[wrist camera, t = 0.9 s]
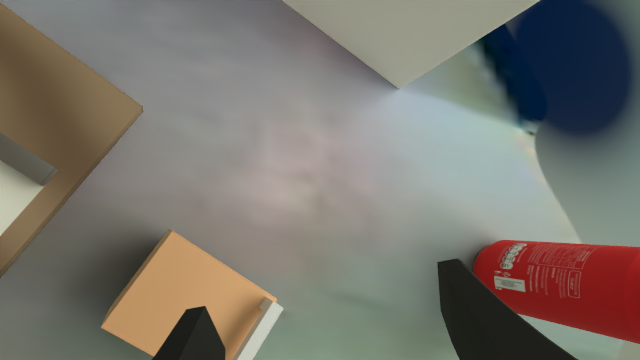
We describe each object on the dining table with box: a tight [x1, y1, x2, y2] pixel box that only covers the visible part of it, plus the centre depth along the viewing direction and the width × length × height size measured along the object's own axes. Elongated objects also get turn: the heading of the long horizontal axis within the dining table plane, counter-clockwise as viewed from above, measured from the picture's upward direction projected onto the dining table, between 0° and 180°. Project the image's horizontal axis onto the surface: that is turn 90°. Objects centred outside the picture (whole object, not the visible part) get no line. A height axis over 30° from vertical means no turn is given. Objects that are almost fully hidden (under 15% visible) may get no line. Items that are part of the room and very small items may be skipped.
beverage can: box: [473, 240, 640, 344], centre depth 27 cm, size 5×5×12 cm
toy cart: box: [101, 229, 284, 360], centre depth 20 cm, size 6×5×6 cm
